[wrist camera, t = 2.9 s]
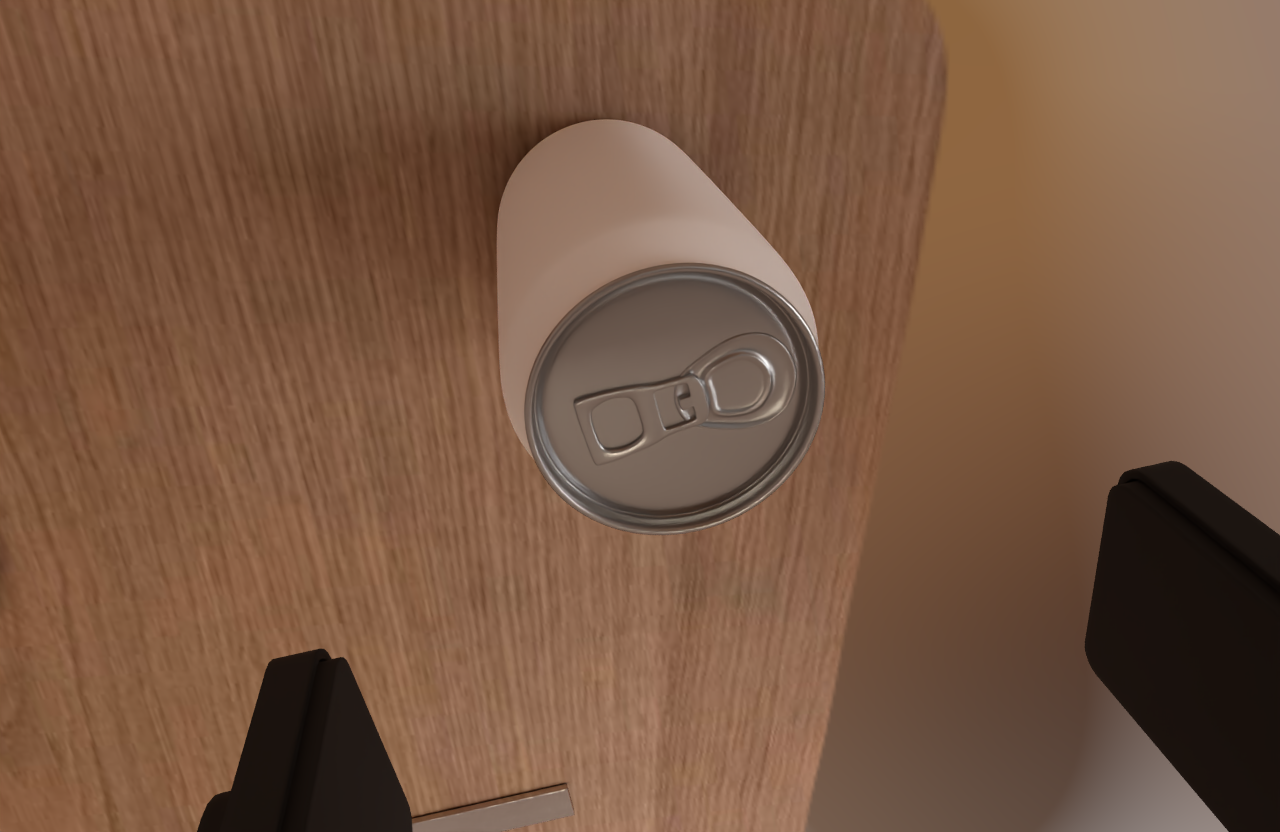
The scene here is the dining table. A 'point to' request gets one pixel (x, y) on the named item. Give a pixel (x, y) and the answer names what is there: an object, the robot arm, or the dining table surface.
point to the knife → (501, 813)
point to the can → (648, 334)
